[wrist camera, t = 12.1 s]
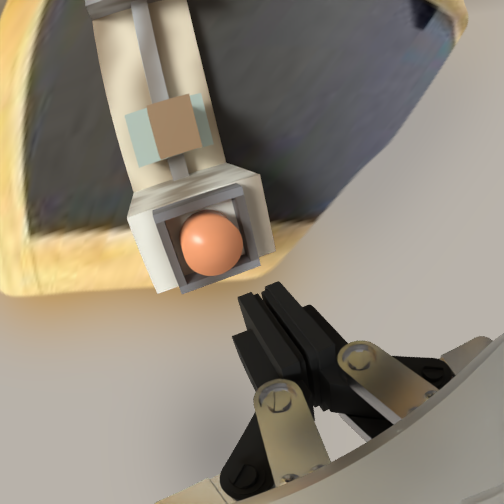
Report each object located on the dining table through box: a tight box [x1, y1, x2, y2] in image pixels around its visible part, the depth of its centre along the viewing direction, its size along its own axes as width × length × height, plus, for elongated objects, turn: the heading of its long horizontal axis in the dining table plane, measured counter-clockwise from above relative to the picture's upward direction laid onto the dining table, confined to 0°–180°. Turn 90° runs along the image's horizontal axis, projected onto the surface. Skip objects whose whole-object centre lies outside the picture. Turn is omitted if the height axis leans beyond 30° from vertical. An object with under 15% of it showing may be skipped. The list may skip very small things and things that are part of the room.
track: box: [85, 0, 276, 294], centre depth 21 cm, size 10×28×13 cm, turn 13°
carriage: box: [125, 93, 214, 168], centre depth 22 cm, size 7×5×9 cm
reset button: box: [179, 210, 243, 276], centre depth 20 cm, size 4×4×2 cm
